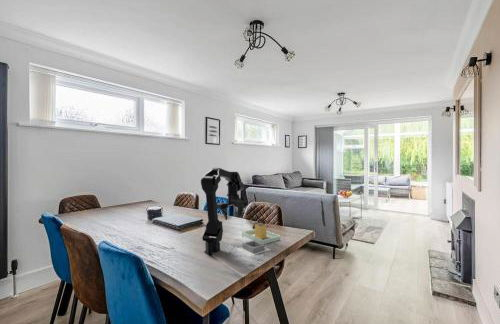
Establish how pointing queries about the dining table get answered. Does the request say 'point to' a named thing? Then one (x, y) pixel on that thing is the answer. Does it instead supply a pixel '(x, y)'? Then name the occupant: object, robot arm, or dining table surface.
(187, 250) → the dining table surface
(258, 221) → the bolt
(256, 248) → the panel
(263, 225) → the tan rectangular block
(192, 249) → the dining table surface
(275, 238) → the parts tray
